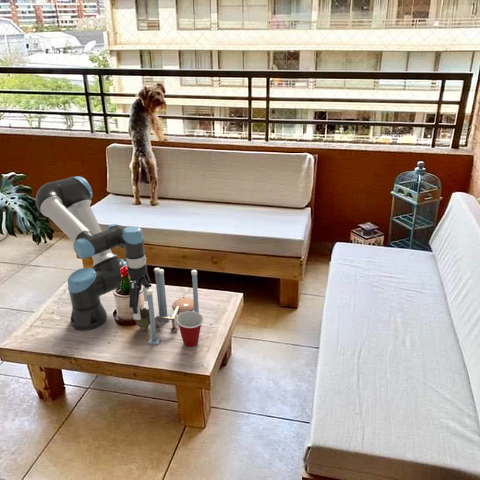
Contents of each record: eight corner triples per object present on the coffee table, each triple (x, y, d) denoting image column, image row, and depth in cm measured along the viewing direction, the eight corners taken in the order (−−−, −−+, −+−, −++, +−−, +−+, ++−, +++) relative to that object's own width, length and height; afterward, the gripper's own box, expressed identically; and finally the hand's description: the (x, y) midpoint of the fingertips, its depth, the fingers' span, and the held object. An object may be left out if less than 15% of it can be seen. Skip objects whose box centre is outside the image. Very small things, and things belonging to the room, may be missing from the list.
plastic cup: (201, 352, 175) (199, 327, 170) (174, 349, 177) (172, 325, 172) (207, 335, 185) (206, 311, 180) (182, 333, 187) (180, 309, 182)
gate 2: (200, 322, 194) (197, 273, 183) (156, 319, 196) (150, 271, 185) (202, 316, 197) (199, 269, 187) (158, 313, 199) (153, 266, 189)
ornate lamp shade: (151, 333, 186) (149, 318, 183) (133, 333, 187) (131, 317, 183) (154, 323, 193) (153, 307, 190) (137, 323, 193) (135, 307, 190)
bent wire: (152, 331, 188) (151, 318, 185) (160, 315, 198) (158, 303, 196) (176, 332, 187) (175, 320, 184) (183, 316, 197) (182, 304, 194)
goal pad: (169, 311, 201) (169, 310, 201) (175, 298, 211) (175, 297, 211) (193, 312, 200) (193, 311, 200) (198, 299, 210) (198, 298, 209)
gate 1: (148, 344, 180) (142, 293, 170) (162, 315, 198) (157, 268, 188) (158, 344, 180) (152, 293, 170) (171, 316, 198) (166, 268, 187)
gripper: (135, 280, 165) (141, 327, 174) (155, 251, 187) (159, 294, 196) (116, 279, 166) (123, 326, 175) (137, 250, 188) (143, 293, 197)
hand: (142, 309), depth 185 cm, fingers open, 13 cm apart
